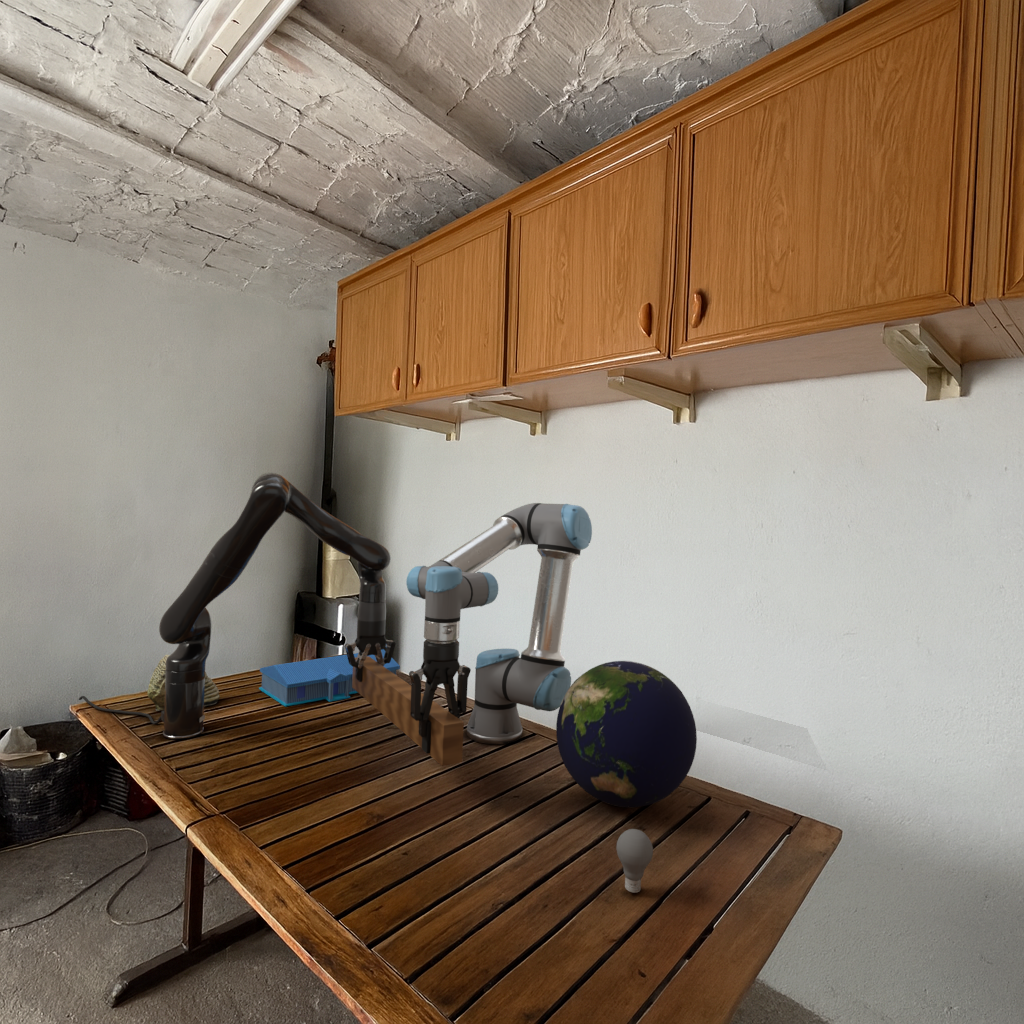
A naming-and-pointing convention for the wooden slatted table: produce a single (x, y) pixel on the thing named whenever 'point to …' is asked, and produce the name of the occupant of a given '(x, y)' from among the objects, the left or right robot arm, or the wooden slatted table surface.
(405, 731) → the post
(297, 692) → the model building
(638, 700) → the globe
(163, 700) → the fossil
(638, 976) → the wooden slatted table surface
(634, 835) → the light bulb
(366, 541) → the left robot arm
